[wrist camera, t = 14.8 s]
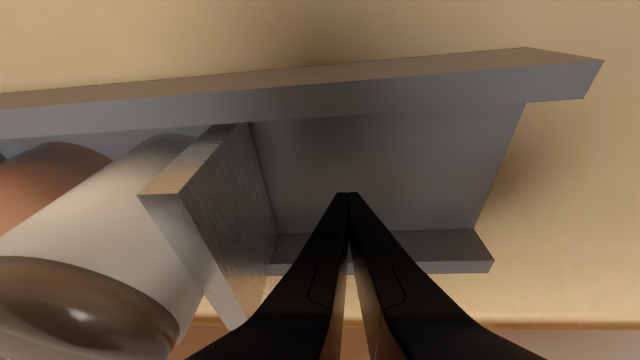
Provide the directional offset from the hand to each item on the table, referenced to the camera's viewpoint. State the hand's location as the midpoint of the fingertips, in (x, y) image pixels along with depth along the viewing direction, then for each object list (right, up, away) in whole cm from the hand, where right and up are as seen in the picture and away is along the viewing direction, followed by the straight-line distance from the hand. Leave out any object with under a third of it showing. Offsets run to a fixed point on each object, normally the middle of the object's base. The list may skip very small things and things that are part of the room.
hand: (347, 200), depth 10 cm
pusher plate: (-4, +1, +2) cm, 5 cm away
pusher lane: (-5, +1, +3) cm, 6 cm away
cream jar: (-8, +1, +2) cm, 8 cm away
